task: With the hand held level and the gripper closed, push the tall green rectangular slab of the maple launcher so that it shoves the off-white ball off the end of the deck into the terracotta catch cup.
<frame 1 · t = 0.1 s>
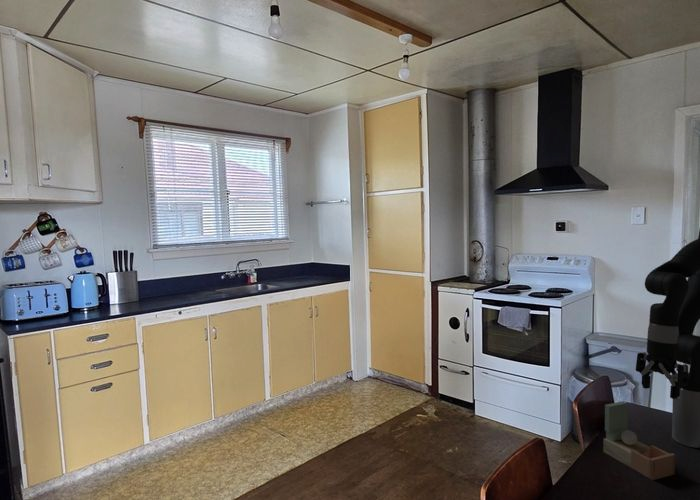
hand: (659, 393, 129), 17 cm above the table, tool pointing down, fingers open, 8 cm apart
green rectangular slab: (617, 421, 129), point 9 cm above the table, slide at 0.0 cm
ball: (629, 437, 126), point 6 cm above the table, touching launcher
catch cup: (652, 470, 119), on the table
launcher: (636, 462, 124), on the table
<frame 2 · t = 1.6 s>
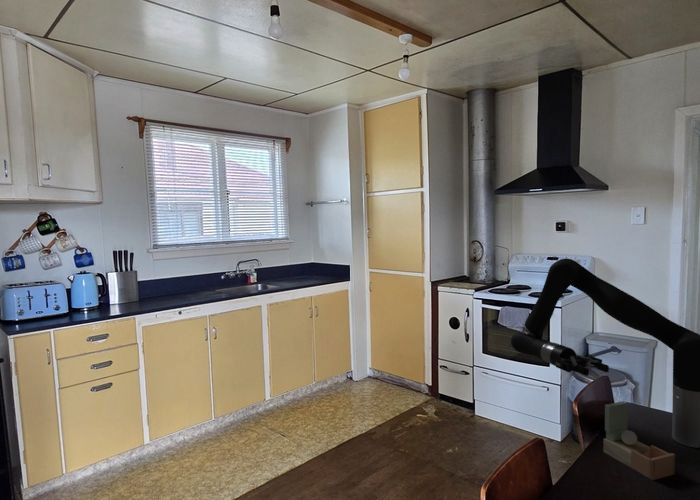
hand: (597, 370, 135), 22 cm above the table, tool horizontal, fingers open, 7 cm apart
nothing on the table moved.
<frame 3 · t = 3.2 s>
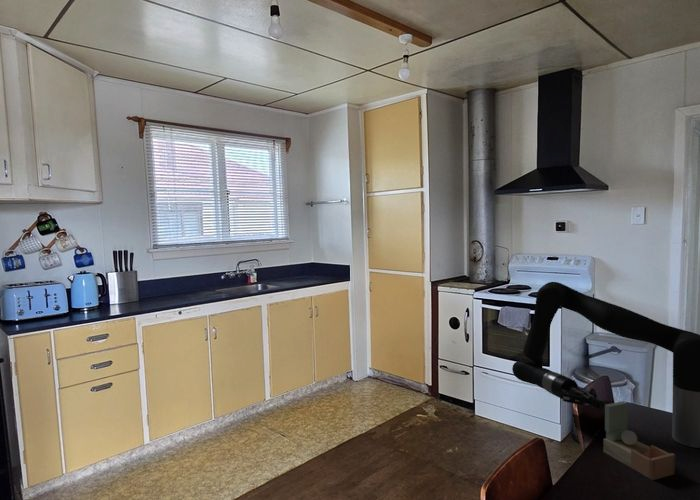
hand: (601, 405, 134), 12 cm above the table, tool horizontal, fingers closed
nothing on the table moved.
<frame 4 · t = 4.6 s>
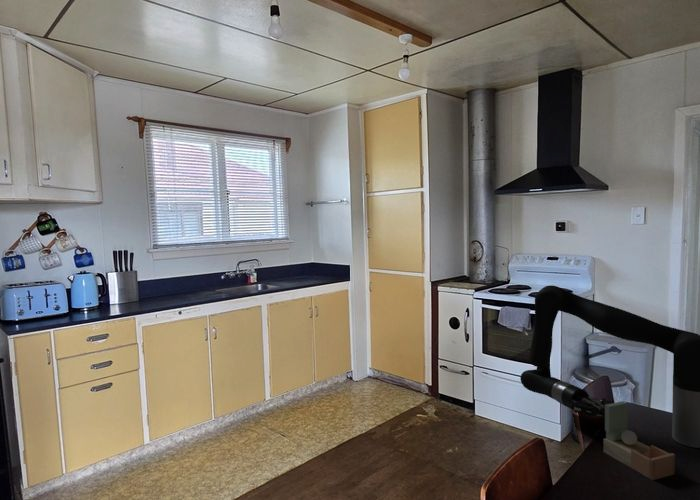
hand: (614, 416, 130), 10 cm above the table, tool horizontal, fingers closed
green rectangular slab: (617, 421, 129), point 9 cm above the table, slide at 0.0 cm, touching gripper
everything else where it was.
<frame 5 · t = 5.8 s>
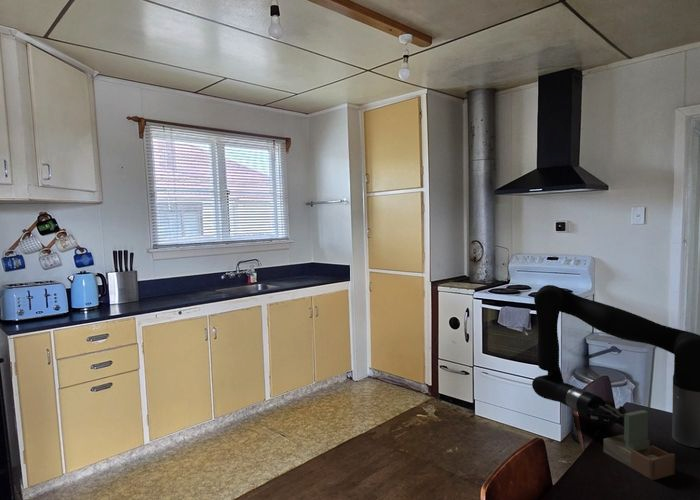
hand: (633, 426, 124), 10 cm above the table, tool horizontal, fingers closed
green rectangular slab: (637, 430, 123), point 9 cm above the table, slide at 6.4 cm, touching gripper
ball: (653, 462, 119), point 2 cm above the table, tilted 121°, touching catch cup
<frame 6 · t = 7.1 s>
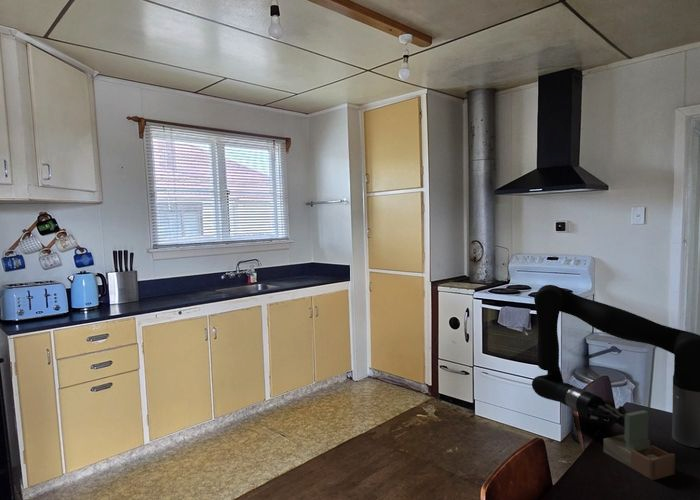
hand: (633, 426, 124), 10 cm above the table, tool horizontal, fingers closed
green rectangular slab: (638, 430, 123), point 9 cm above the table, slide at 6.5 cm
everything else where it was.
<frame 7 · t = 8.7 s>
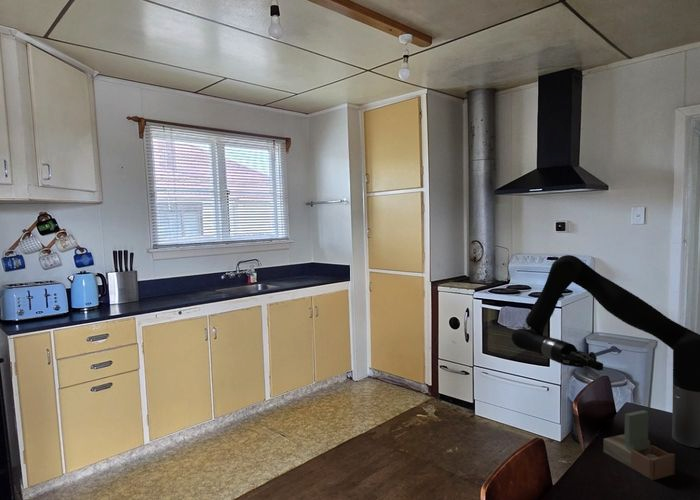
hand: (601, 367, 134), 24 cm above the table, tool horizontal, fingers closed
ball: (652, 462, 119), point 2 cm above the table, tilted 132°, touching catch cup
everything else where it was.
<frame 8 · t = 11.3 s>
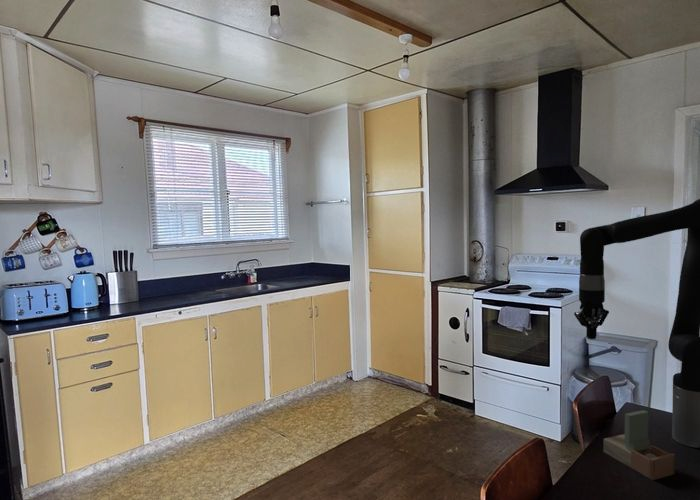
hand: (591, 338, 147), 29 cm above the table, tool pointing down, fingers closed
ball: (651, 461, 119), point 2 cm above the table, tilted 141°, touching catch cup
everything else where it was.
at the end: ball 0.0 cm off-centre on the catch cup, point 2.5 cm above the catch cup's base; green rectangular slab slide at 6.5 cm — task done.
